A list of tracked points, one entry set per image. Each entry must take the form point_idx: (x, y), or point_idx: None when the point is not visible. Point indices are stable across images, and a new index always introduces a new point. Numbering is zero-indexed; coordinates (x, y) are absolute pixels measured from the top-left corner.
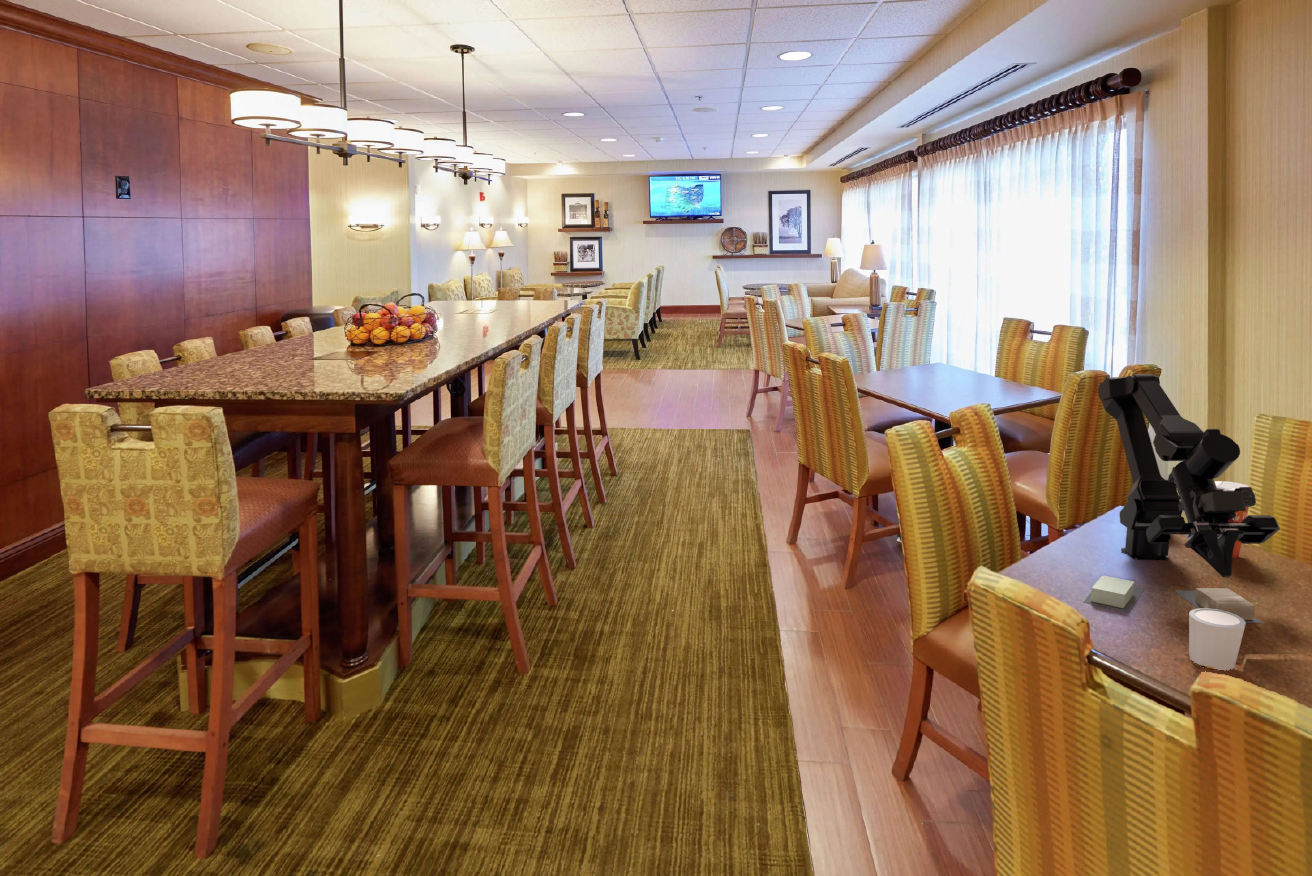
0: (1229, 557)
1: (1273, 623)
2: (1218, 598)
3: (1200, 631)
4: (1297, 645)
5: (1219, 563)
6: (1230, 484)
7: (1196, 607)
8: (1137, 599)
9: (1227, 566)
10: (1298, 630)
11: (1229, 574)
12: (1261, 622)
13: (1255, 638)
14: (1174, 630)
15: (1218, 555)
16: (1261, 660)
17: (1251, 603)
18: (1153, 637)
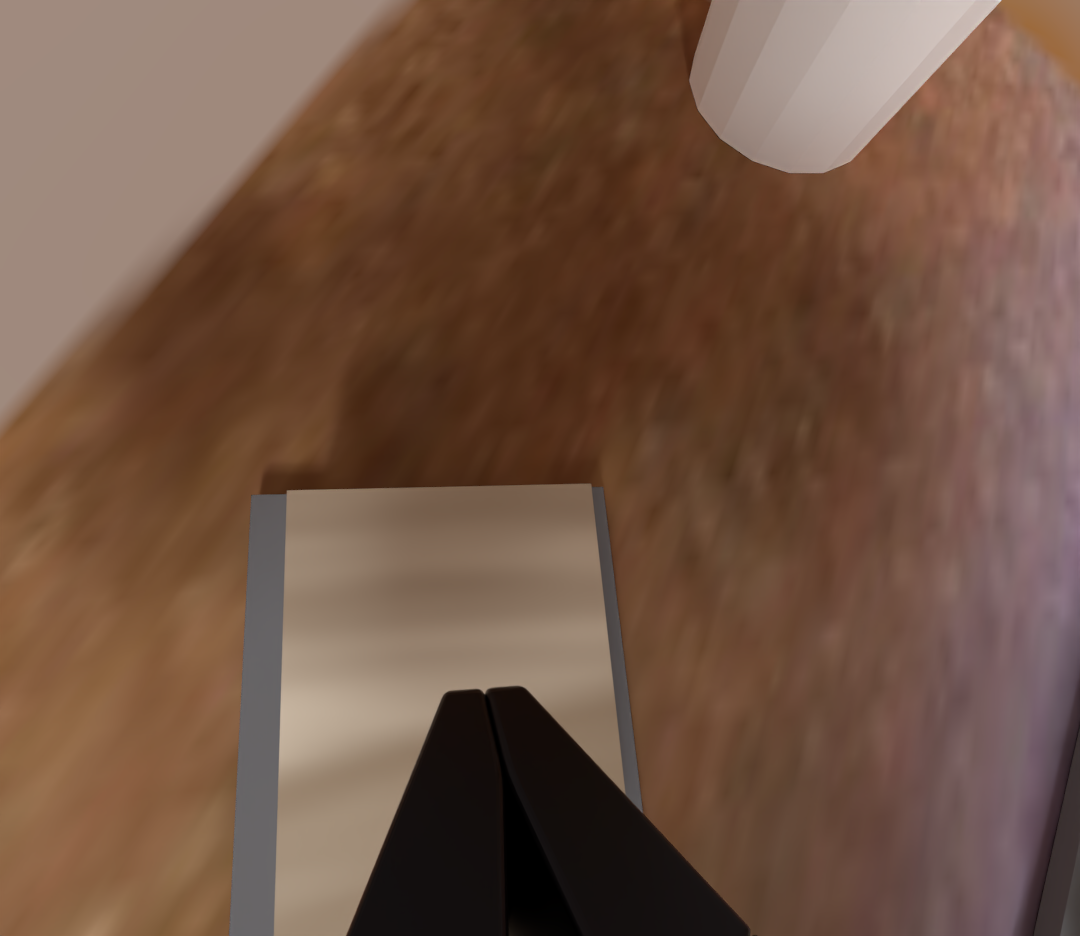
0: (424, 921)
1: (117, 573)
2: (543, 665)
3: None
4: (212, 232)
5: (632, 805)
6: None
7: (638, 792)
8: (1062, 924)
9: (491, 765)
10: (5, 450)
11: (466, 694)
12: (255, 504)
13: (425, 323)
14: (867, 422)
15: (686, 933)
16: (541, 92)
17: (287, 544)
18: (990, 333)
